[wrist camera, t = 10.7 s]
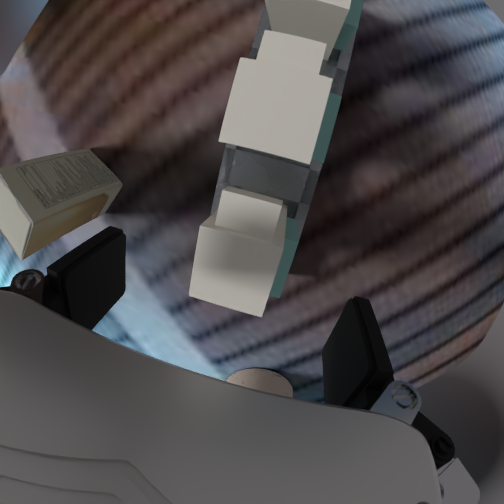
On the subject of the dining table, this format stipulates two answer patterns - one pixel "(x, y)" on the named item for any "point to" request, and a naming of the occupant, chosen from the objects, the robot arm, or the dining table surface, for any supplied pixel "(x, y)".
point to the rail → (273, 166)
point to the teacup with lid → (262, 381)
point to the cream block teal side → (317, 20)
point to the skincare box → (52, 197)
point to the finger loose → (244, 251)
